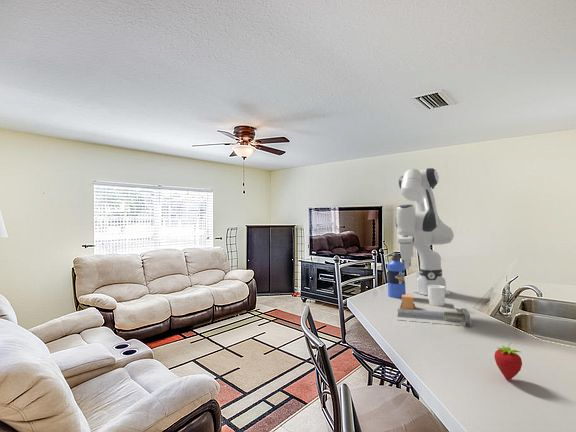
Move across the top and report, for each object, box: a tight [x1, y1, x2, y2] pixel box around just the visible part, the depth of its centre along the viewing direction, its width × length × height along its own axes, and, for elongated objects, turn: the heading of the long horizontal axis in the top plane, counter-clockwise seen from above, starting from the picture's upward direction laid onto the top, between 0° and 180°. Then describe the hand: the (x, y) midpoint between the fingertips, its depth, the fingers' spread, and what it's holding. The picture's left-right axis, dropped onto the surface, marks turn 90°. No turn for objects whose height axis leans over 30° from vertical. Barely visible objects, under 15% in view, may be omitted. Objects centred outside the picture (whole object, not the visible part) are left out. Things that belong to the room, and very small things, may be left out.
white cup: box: [427, 285, 446, 307], centre depth 153 cm, size 8×8×10 cm
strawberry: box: [493, 342, 523, 381], centre depth 83 cm, size 6×8×10 cm
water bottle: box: [386, 252, 407, 299], centre depth 171 cm, size 9×9×25 cm
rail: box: [396, 307, 473, 328], centre depth 134 cm, size 10×28×4 cm, turn 68°
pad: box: [399, 302, 417, 310], centre depth 148 cm, size 7×7×4 cm
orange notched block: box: [401, 294, 415, 309], centre depth 148 cm, size 5×5×6 cm
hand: (408, 267), depth 148 cm, fingers open, 8 cm apart
